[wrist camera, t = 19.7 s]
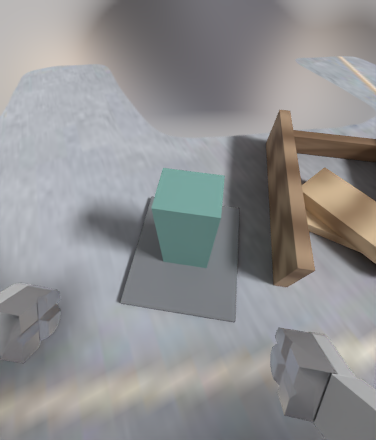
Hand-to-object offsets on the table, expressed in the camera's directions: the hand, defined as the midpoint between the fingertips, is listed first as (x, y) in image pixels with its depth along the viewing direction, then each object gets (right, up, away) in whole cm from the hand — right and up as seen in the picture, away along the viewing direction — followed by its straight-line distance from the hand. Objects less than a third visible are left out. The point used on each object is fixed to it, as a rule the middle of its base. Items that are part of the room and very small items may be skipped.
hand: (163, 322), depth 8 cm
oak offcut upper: (+22, +4, +20) cm, 29 cm away
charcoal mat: (+1, 0, +18) cm, 18 cm away
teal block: (+1, 0, +18) cm, 18 cm away
